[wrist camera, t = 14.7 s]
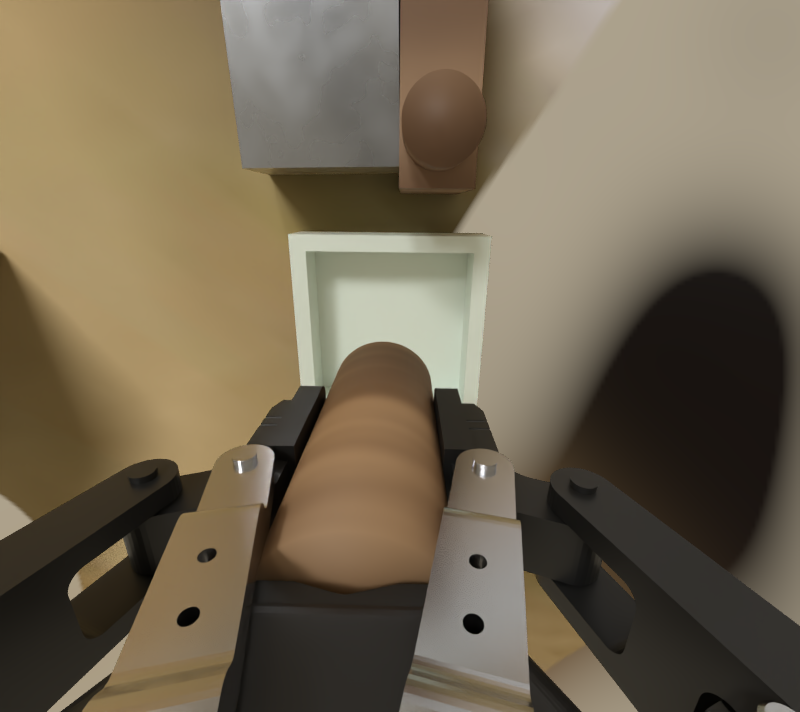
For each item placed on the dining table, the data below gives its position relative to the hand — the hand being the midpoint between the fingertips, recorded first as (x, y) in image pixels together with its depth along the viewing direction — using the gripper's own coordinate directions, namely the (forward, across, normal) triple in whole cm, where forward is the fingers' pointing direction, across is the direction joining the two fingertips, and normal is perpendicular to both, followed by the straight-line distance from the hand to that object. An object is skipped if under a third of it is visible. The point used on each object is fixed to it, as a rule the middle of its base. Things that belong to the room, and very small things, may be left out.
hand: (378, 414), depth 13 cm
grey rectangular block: (+12, +3, -13) cm, 18 cm away
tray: (+12, 0, 0) cm, 12 cm away
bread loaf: (+2, 0, 0) cm, 2 cm away
